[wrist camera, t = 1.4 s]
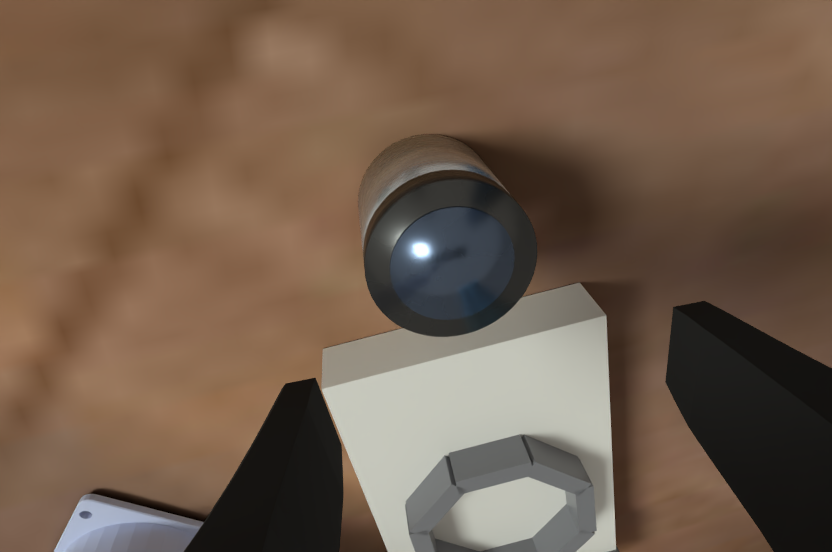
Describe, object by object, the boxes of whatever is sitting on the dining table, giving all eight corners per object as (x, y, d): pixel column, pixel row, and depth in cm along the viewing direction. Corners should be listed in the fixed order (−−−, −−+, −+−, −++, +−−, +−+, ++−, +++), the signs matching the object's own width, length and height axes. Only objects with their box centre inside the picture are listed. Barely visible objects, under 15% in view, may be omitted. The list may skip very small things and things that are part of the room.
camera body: (599, 539, 31) (632, 609, 28) (413, 588, 31) (423, 665, 28) (582, 281, 22) (628, 337, 19) (320, 349, 22) (317, 418, 19)
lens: (444, 282, 21) (472, 361, 17) (332, 225, 20) (332, 297, 15) (519, 178, 20) (573, 236, 15) (404, 105, 18) (427, 147, 13)
